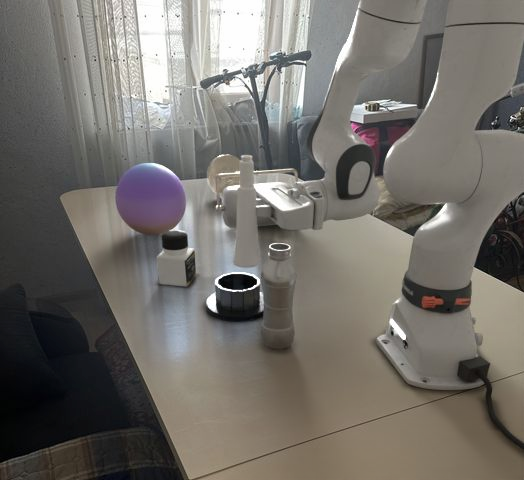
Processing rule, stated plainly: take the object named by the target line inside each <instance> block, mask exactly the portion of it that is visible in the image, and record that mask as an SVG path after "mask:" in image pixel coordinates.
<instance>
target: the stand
mask: <svg viewBox="0 0 524 480" xmlns="http://www.w3.org/2000/svg"><path fill="white" fill-rule="evenodd" d="M214 291H215V292H213V293H211V294H210V295H209V296H208V297H207V299H206V301H205V302H206V303H205V304H206V305H205V306H206V307H205V308H206V311H207V312H208V313H209V315H211V317H214V318H216V319H219V320H222V321H226V322H238V323H239V322H248V321H249V322H250V321H253V320H256V319H259V318H261V317H263V311H264V300H263V292H261V278H259V277H257V276H256V275H255V274H251V273H247V272H229V273H224V274H222V275H220V276H219V277H217V278H215V281H214Z"/></svg>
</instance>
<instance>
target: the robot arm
mask: <svg viewBox="0 0 524 480" xmlns="http://www.w3.org/2000/svg"><path fill="white" fill-rule="evenodd" d="M427 3H428V0H359V2H358V6H357V9H356V13H355V17H354V21H353V23H352V28H351V30H350V33H349V35H348V38H347V40H346V41H345V43H344V44H343V47H342V49H341V51H340V53H339V55H338V58H337V61H336V64H335V66H334V69H333V73H332V76H331V79H330V82H329V85H328V88H327V91H326V93H325V98H324V100H323V104H322V107H321V109H320V112H319V114H318V116H317V118H316V120H315V121H314V123H313V124H312V126H311V128H310V130H309V132H308V135H307V137H306V151H307V154H308V156H309V157H310V159H312V161H314V162H315V163H316V164H317V165H318V166H319V167H321V168H322V170H323V171H324V177H323V178H322V179H316V180H315V179H313V180H305V181H298V182H296V183H295V182H294V184H293V186H292V187H293V189H289V190H288V189H287V188H285V187H283V186H256V202H257V206H256V216H261V217H269V218H270V219H271V220H273V221H274V222H275V223H276V224H275V225H277V226H278V227H279V228H280V229H282V230H288V231H299V230H301V231H302V230H310V229H311V230H313V231H319V230H322V229H323V228H324V223H325V222H327V221H330V220H332V221H339V222H340V221H346V220H353V219H358V218H361V217H364V216H366V215H369V214H370V213H372V212H373V211H374V210H375V209H376V207H377V206H378V203H379V200H380V195H381V194H380V185H379V184H378V182H377V180H376V177H375V176H376V175H375V171H376V165H377V155H376V152H375V151H374V149H373V148H372V147H371V146H370V145H369V144H368V143H367V141H365V140H364V139H363V138H362V137H361V136H359V134H357V133H356V132H355V131H354V130H353V127H352V123H351V117H352V113H353V111H354V107H355V105H356V103H357V100H358V97H359V94H360V92H361V89H362V86H363V83H364V82H365V80H366V79H367V78H368V77H369V76H370V75H372V74H374V73H383V72H387V71H390V70H392V69H395V68H396V67H398V66H399V65H400V64H402V63H403V62H404V61H405V60H406V59H407V58H408V56H409V54H410V53H411V50H412V49H413V46H414V44H415V42H416V39H417V37H418V33H419V30H420V27H421V24H422V22H423V21H422V20H423V17H424V14H425V11H426V6H427ZM444 24H445V25H444V31H443V32H444V33H443V37H442V45H441V51H440V56H439V62H438V68H437V73H436V78H435V82H434V85H433V88H432V91H431V94H430V96H429V98H428V101H427V104H426V105H425V107H424V109H423V111H422V112H421V114H420V116H419V117H418V119H417V120H416V121H415V122H414V124H413V125H412V127H410V129H408V130H407V132H405V133H404V134H403V135H402V136H401V137H400V138H398V139H397V140H396V141H395V142H394V143H393V144H392V145H391V147H390V148H389V150H388V152H387V154H386V156H385V159H384V163H383V168H382V177H383V182H384V185H385V187H386V190H387V191H388V193H389V194H390V196H391V197H392V198H393V199H394V200H395V201H398V202H402V203H408V204H414V205H423V206H426V205H439V204H444V205H443V206H442V208H441V209H440V210H439V212H437V214H435V215H434V216H433V217H432V218H430V219H429V220H427V221H426V222H425V223H423V224H422V225H421V226H420V227H418V229H417V230H416V232H415V233H414V235H413V237H412V244H411V248H410V254H409V261H408V265H407V270H405V273H404V276H403V279H402V282H401V295H400V296H399V297H398V298H397V299H396V300H395V301H394V302H393V303H392V304H391V306H390V311H389V315H388V319H387V324H386V328H385V332H384V333H383V334H381V335H379V336H378V337H377V338H376V341H375V342H376V345H377V346H378V348H379V349H380V350H381V351H382V353H383V354H384V355H385V357H386V358H387V359H388V360H389V362H390V363H391V365H392V366H393V368H394V369H395V370H396V371H397V373H398V374H399V375H400V376H401V378H402V379H403V380H404V381H405V382H406V383H407V384H408V385H410V386H413V387H417V388H421V389H427V390H437V391H462V390H471V389H476V388H479V387H481V386H483V385H484V386H485V396H484V397H485V404H486V408H487V412H488V416H489V418H490V420H491V422H492V423H493V424H494V426H495V427H496V428H497V429H498V430H499V431H500V432H501V433H502V434H503V436H504V437H505V438H506V439H507V440H509V441H510V442H511V443H512V444H514V445H515V446H516V447H518V448H519V449H521V450H523V451H524V442H523V441H521V440H520V439H519V438H518V437H516V436H515V435H514V434H513V433H512V432H510V430H508V428H507V427H506V426H505V424H503V423H502V422H501V421H500V420H499V418H498V416H497V415H496V412H495V410H494V406H493V405H494V404H493V399H492V395H493V385H492V383H491V381H490V379H489V378H488V377H487V376H488V373H489V370H490V367H491V362H490V361H488V360H487V359H486V358H484V357H482V356H481V355H479V354H478V347H480V346H482V344H483V341H484V340H483V339H484V335H483V333H481V332H475V327H474V326H476V322H477V321H476V320H477V319H476V317H473V316H472V313H471V303H472V302H471V301H472V295H473V288H472V286H473V281H472V275H473V272H474V268H475V265H476V261H477V257H478V255H479V251H480V247H481V245H482V243H483V240H484V238H485V236H486V235H487V233H488V231H489V229H490V228H491V227H492V225H493V223H494V221H495V220H496V219H497V218H498V217H499V215H500V214H501V213H502V211H503V210H504V209H505V208H506V207H507V205H509V204H510V203H511V202H513V200H514V199H516V198H518V196H520V195H521V194H523V193H524V133H521V132H517V131H511V130H508V129H507V130H506V129H482V130H481V129H480V130H479V129H478V130H476V127H477V125H478V123H479V121H480V119H481V117H482V116H483V115H484V113H485V112H486V110H488V108H489V107H490V106H491V105H492V104H494V103H495V102H497V101H499V100H501V99H502V98H504V97H505V96H506V95H507V94H509V92H510V91H511V90H512V88H513V87H514V85H515V83H516V79H517V76H518V71H519V66H520V62H521V57H522V51H523V47H524V0H448V6H447V11H446V18H445V22H444Z"/></svg>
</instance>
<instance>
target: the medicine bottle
mask: <svg viewBox="0 0 524 480" xmlns="http://www.w3.org/2000/svg"><path fill="white" fill-rule="evenodd" d="M160 238H161V239H160V240H161V248H162V251H161V252H160V253H159V254H158V255H157V256H156V267H157V275H158V283H159V285H164V286H165V285H166V286H175V287H186V288H187V287H188V286H189V285H190V284H191V282H192V281H193V280H194V278H195V277H196V276H197V267H196V252H195V248H193V247H192V248H191V247H189V237H188V233H187V232H186V231H184V230H181V229H172V230H169V231H166V232H164V233H163V234H161V235H160Z"/></svg>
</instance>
